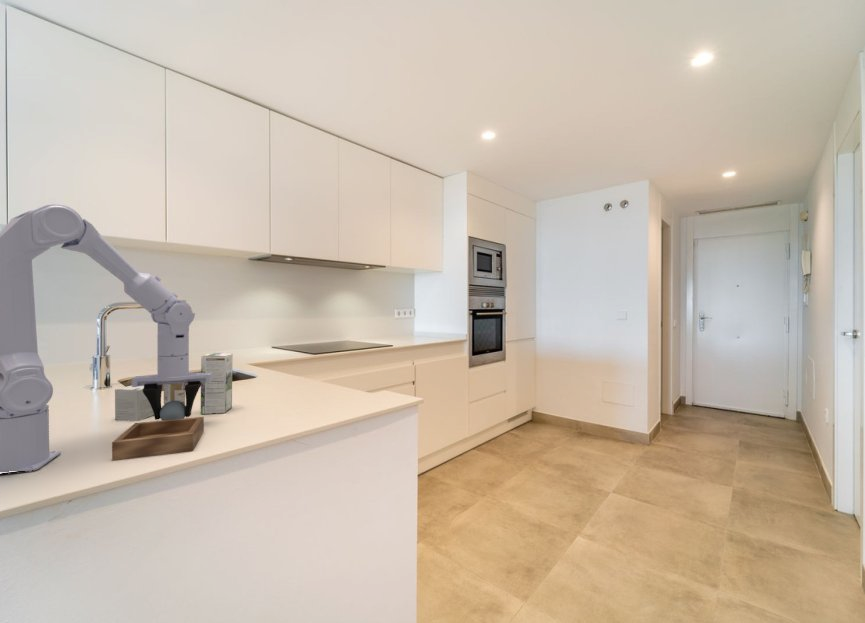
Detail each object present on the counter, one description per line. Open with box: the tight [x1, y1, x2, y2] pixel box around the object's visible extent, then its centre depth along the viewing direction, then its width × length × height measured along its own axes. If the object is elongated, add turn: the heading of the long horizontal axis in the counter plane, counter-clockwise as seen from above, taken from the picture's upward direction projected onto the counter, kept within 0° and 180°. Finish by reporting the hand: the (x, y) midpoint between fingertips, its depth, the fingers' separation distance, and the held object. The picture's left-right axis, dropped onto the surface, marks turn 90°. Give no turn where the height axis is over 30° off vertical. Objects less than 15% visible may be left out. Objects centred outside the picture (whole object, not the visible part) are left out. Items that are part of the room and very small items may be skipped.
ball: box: [160, 401, 186, 421], centre depth 85 cm, size 5×5×5 cm
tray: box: [111, 416, 205, 461], centre depth 75 cm, size 12×12×3 cm
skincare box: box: [114, 384, 154, 422], centre depth 93 cm, size 6×6×7 cm
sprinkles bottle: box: [163, 380, 186, 405], centre depth 94 cm, size 5×5×14 cm
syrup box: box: [200, 352, 234, 415], centre depth 98 cm, size 6×6×14 cm
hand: (173, 417), depth 85 cm, fingers closed on ball, 5 cm apart
